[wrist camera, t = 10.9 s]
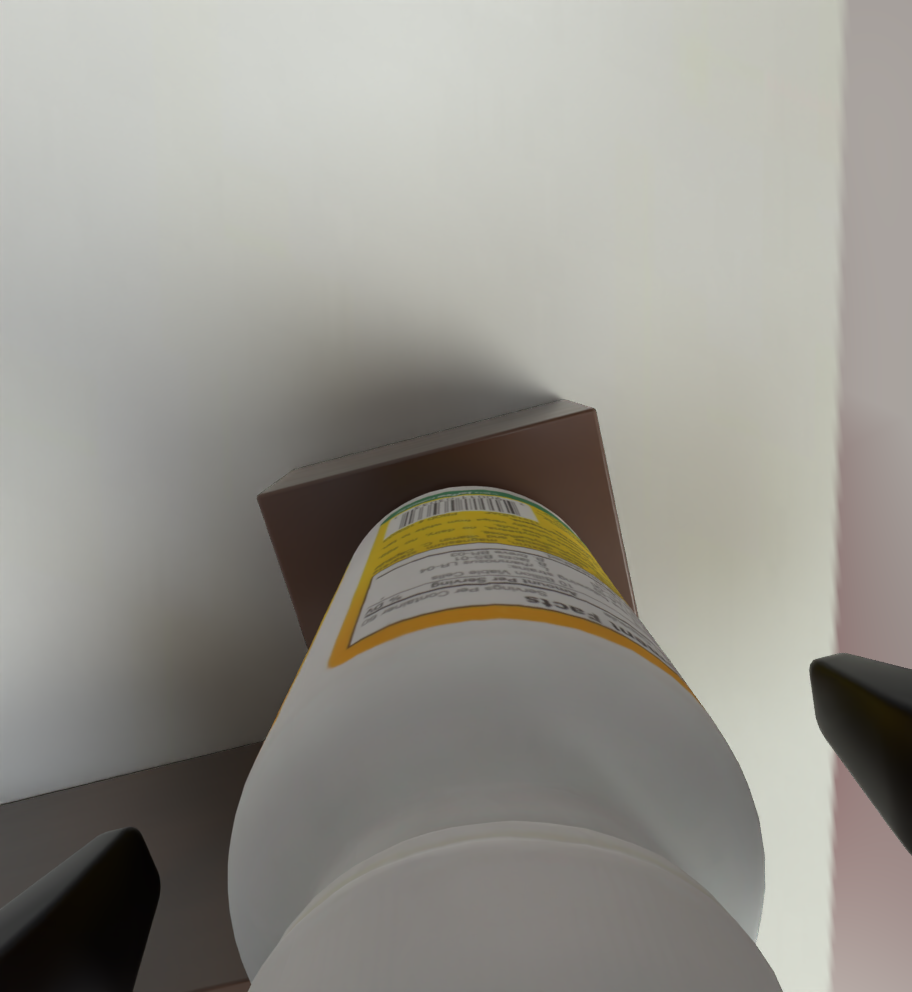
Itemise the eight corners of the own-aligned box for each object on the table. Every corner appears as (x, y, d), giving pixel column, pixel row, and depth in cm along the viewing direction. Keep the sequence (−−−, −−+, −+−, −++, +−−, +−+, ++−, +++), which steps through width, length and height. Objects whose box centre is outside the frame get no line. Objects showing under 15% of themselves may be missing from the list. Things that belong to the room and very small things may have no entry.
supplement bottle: (462, 426, 12) (537, 670, 2) (650, 598, 13) (1234, 1269, 3) (288, 616, 13) (-165, 1355, 3) (475, 766, 13) (547, 1691, 4)
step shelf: (565, 398, 15) (672, 428, 8) (683, 945, 18) (825, 1289, 12) (-179, 591, 15) (-675, 774, 9) (77, 1082, 19) (-128, 1486, 12)
